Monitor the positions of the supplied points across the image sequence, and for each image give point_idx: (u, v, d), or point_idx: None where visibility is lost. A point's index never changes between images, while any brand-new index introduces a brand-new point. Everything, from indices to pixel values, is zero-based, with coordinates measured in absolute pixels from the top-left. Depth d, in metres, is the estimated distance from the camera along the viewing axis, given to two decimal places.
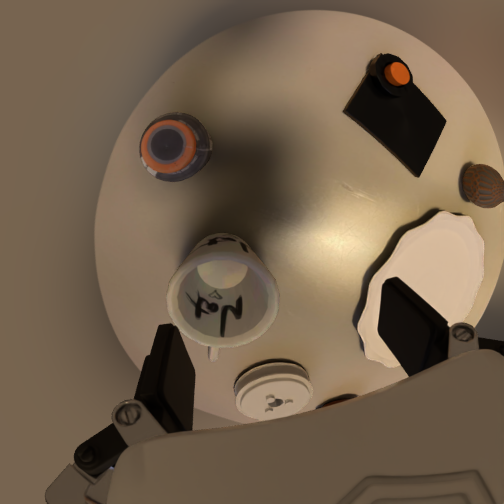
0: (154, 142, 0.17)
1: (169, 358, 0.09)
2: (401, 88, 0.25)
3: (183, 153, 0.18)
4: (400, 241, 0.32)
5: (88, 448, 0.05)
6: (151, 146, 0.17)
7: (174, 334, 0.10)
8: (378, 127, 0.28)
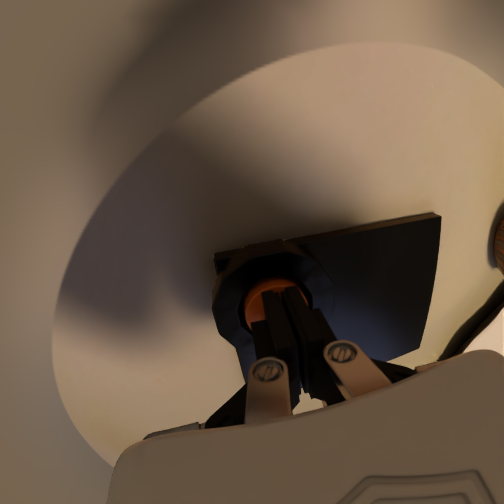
0: None
1: (287, 317, 0.10)
2: None
3: None
4: None
5: (225, 417, 0.07)
6: None
7: (279, 298, 0.11)
8: None
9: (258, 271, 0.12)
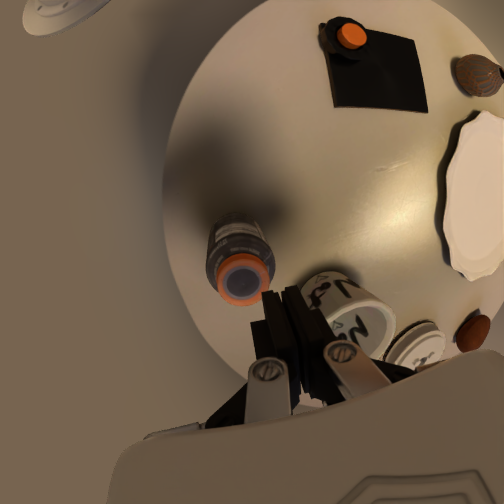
0: (231, 289, 0.20)
1: (287, 317, 0.10)
2: (364, 46, 0.21)
3: (261, 280, 0.20)
4: (447, 180, 0.28)
5: (225, 417, 0.07)
6: (231, 292, 0.20)
7: (279, 298, 0.11)
8: (371, 98, 0.25)
9: (341, 21, 0.20)
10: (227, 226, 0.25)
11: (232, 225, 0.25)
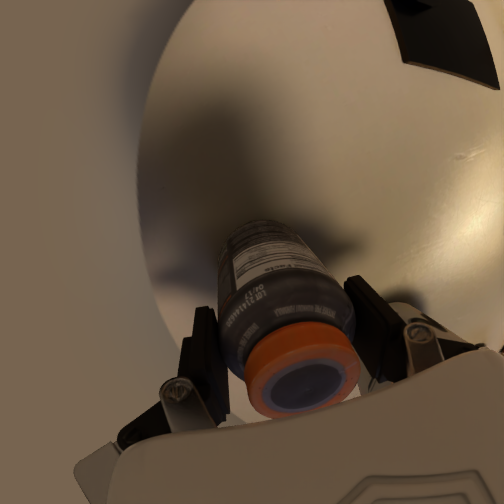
0: (281, 401, 0.08)
1: (212, 337, 0.10)
2: None
3: (346, 377, 0.08)
4: None
5: (134, 429, 0.06)
6: (281, 406, 0.08)
7: (212, 315, 0.11)
8: (446, 58, 0.13)
9: None
10: (256, 249, 0.13)
11: (267, 248, 0.12)
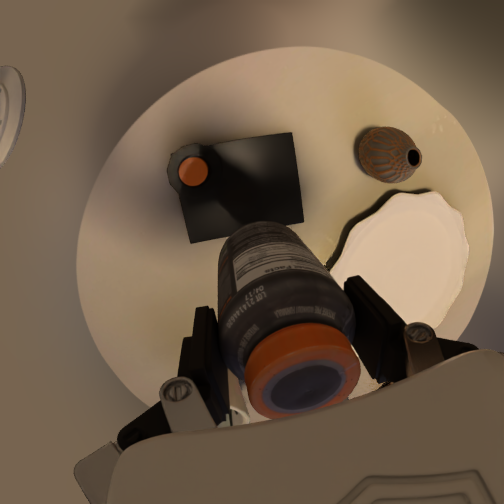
0: (281, 402, 0.08)
1: (212, 337, 0.10)
2: (210, 177, 0.28)
3: (346, 378, 0.08)
4: None
5: (134, 429, 0.06)
6: (281, 407, 0.08)
7: (212, 315, 0.11)
8: (226, 227, 0.32)
9: (185, 152, 0.27)
10: (256, 250, 0.13)
11: (267, 249, 0.12)
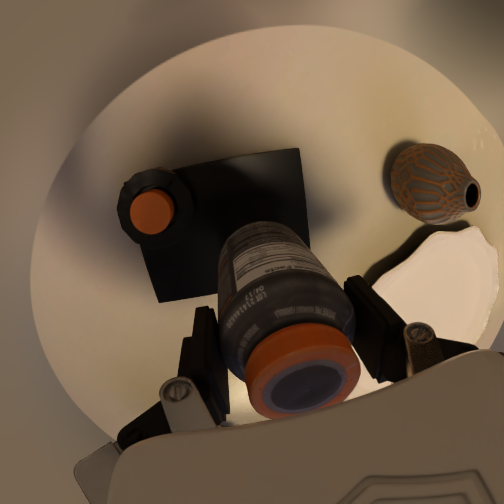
0: (281, 403, 0.08)
1: (212, 337, 0.10)
2: (178, 218, 0.19)
3: (346, 378, 0.08)
4: None
5: (134, 429, 0.06)
6: (281, 407, 0.08)
7: (212, 315, 0.11)
8: (205, 283, 0.23)
9: (140, 182, 0.18)
10: (256, 250, 0.13)
11: (267, 249, 0.12)
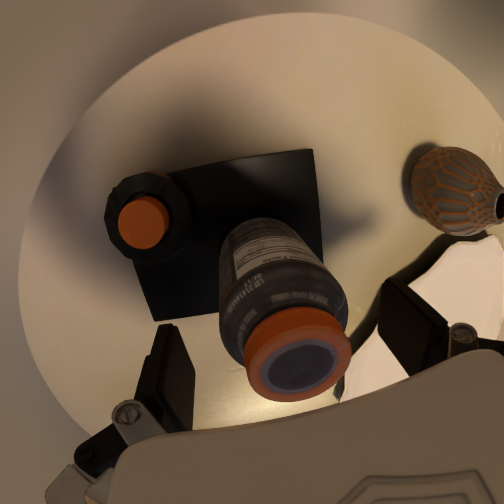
0: (278, 382, 0.09)
1: (169, 358, 0.09)
2: (173, 230, 0.17)
3: (338, 359, 0.09)
4: (346, 372, 0.23)
5: (88, 448, 0.05)
6: (277, 386, 0.09)
7: (174, 334, 0.10)
8: (206, 301, 0.20)
9: (129, 188, 0.15)
10: (255, 243, 0.14)
11: (265, 242, 0.13)
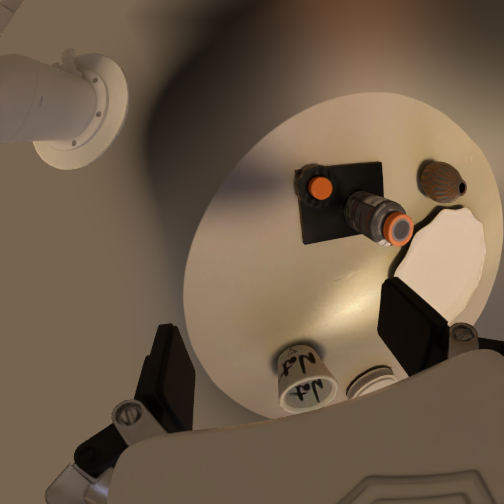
0: (396, 233, 0.28)
1: (170, 358, 0.09)
2: None
3: (410, 228, 0.28)
4: None
5: (88, 448, 0.05)
6: (395, 236, 0.28)
7: (174, 334, 0.10)
8: (333, 232, 0.40)
9: (313, 171, 0.34)
10: (372, 197, 0.33)
11: (376, 197, 0.33)
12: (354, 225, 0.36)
